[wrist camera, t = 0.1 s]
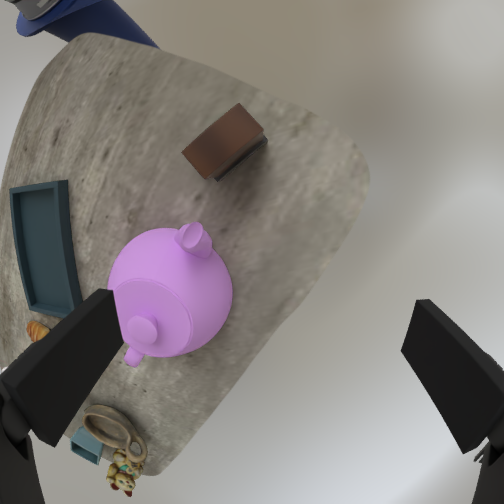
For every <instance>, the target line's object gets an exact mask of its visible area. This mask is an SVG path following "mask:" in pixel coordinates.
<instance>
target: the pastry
mask: <svg viewBox="0 0 504 504" xmlns="http://www.w3.org/2000/svg"><path fill="white" fill-rule="evenodd" d="M26 330H27V332H28V335H29V336H30V337H31V340H32V341H33V342H36V341H38V340H40V339H42V338H43V337H44V336H45V335H46V334H47V333H48V332H49V331H50V330H49V328H47V327H46V326H44V325H43V324H40V323H39V322H36V321H30V322H29V323H28V325H27V329H26Z"/></svg>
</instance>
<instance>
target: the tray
mask: <svg viewBox="0 0 504 504" xmlns="http://www.w3.org/2000/svg"><path fill="white" fill-rule="evenodd" d="M9 191H10V207H11V218H12V227H13V235H14V242H15V248H16V254H17V260H18V265H19V270H20V275H21V279H22V283H23V288H24V291H25V295H26V299H27V303H28V306H29V310H31V311H35V312H39V313H43V314H47V315H51V316H55V317H60V318H65V317H66V316H67V315H68V314H70V313H71V312H72V311H73V310H74V309H75V308H76V307H78V306H79V305H80V304H81V303H82V302H83V301H82V297H81V292H80V287H79V282H78V276H77V271H76V265H75V258H74V251H73V243H72V235H71V225H70V214H69V198H68V180H61V181H53V182H46V183H39V184H33V185H27V186H21V187H16V188H10V189H9Z"/></svg>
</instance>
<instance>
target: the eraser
mask: <svg viewBox="0 0 504 504" xmlns="http://www.w3.org/2000/svg"><path fill="white" fill-rule="evenodd" d="M263 132H264V129H263V128H262V127H261V126H260V125H259V124H258V123H257V122H256V120H255V119H254V118H253V117H252V116H251V115H250V114H249V113H248V112H247V111H246V110H245V109H244V107H243V106H242V105H241V104H240V103H238V104H236V105H235V106H234V107H233V108H231V109H230V110H229V111H228V112H226V113H225V114H224V115H223V116H222V117H220V118H219V119H218V120H217V121H216V122H214V123H213V124H212V125H211V126H210V127H208V128H207V129H206V130H205V131H204V132H203V133H202V134H200V135H199V136H198V137H197V138H196V139H195V140H194V141H193V142H191V143H190V144H189V145H188V146H187V147H186V148H185V149H184V150H183V151H182V152H181V153H182V154H183V155H184V156H185V157H186V159H187V160H188V161H189V162H190V163H191V164H192V165H193V166H194V168H195V169H196V170H197V171H198V172H199V173H200V174H201V176H202V177H203V178H204V179H209V178H214V179H215V180H216V181H217V182H218V181H221V180H223V179H224V178H225V177H226V176H227V175H228V174H230V173H231V172H232V171H233V170H234V169H235V168H237V167H238V166H239V165H240V164H241V163H243V162H244V161H245V160H246V159H247V158H249V157H250V156H251V155H252V154H254V153H255V152H256V151H257V150H258V149H260V148H261V147H262V146H263V145H265V144H266V143H267V141H268V139H267V138H266V137H265V136H264V135H263Z"/></svg>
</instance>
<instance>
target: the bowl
mask: <svg viewBox="0 0 504 504" xmlns="http://www.w3.org/2000/svg"><path fill="white" fill-rule="evenodd" d="M84 412H85V414H84V416H83V418H82V423H83V426H84V427H85V429H86V430H87V431H88V432H89V433H91V434H92V435H93V436H94V437H95V438H96V439H97V440H99V441H100V442H102V443H104V444H106V445H109V446H111V447H114V448H121V449H125V452H126V455H127V457H128V459H129V460H131V461H132V462H136V463H139V462H143V461H144V460H145V459H146V457H147V453H148V451H147V445H146V443H145V442H144V440H143V439H142V437H141V436H140V435H139V434H138V433H137V431H136V429H135V428H134V426H133V425H132V424H131V422H130V421H129V420H128V419H127V417H126V416H124V415H123V414H122V413H120V412H119V411H117V410H116V409H114V408H112V407H108V406H104V405H93V406H90V407H88V408H87V409H86V410H85V411H84ZM132 442H137V443H138V444H139V446H140V448H141V454H140V455H134V454H133V453H132V451H131V449H130V446H131V444H132Z"/></svg>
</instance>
